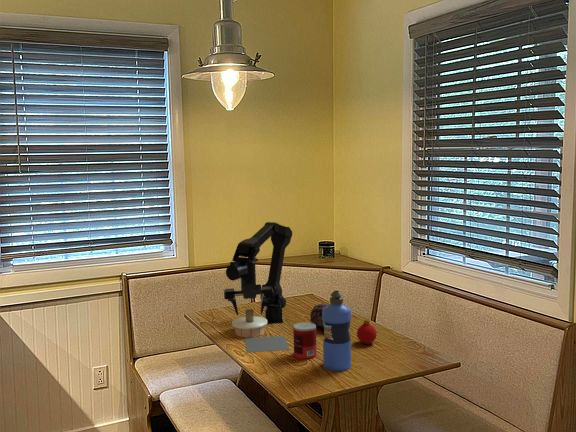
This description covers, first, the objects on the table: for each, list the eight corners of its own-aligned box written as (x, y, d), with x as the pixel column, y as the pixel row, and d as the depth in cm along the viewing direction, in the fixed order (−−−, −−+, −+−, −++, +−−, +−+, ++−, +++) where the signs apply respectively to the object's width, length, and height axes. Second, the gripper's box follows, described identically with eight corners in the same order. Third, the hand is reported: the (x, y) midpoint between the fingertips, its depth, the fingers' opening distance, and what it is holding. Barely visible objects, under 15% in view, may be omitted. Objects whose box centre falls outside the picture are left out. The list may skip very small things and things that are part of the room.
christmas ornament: (371, 338, 218) (371, 312, 217) (380, 345, 212) (380, 318, 210) (353, 341, 216) (353, 314, 215) (362, 347, 210) (361, 320, 208)
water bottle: (331, 373, 187) (330, 296, 184) (318, 363, 196) (316, 289, 192) (356, 368, 191) (356, 292, 188) (343, 358, 199) (342, 286, 196)
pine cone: (344, 334, 224) (344, 308, 223) (320, 337, 221) (320, 311, 220) (327, 320, 241) (327, 297, 240) (304, 323, 238) (304, 299, 237)
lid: (265, 317, 235) (265, 304, 234) (269, 327, 221) (268, 314, 220) (231, 319, 233) (230, 306, 232) (232, 330, 219) (232, 316, 219)
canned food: (319, 353, 205) (318, 323, 203) (312, 362, 197) (312, 330, 196) (298, 351, 207) (297, 321, 206) (290, 359, 200) (290, 328, 198)
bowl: (263, 327, 234) (262, 318, 233) (265, 337, 222) (265, 327, 222) (234, 329, 232) (234, 319, 232) (236, 339, 221) (235, 329, 220)
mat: (284, 336, 223) (284, 335, 223) (289, 350, 208) (289, 349, 208) (244, 339, 221) (244, 338, 221) (247, 353, 206) (247, 352, 206)
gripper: (223, 281, 215) (225, 322, 217) (274, 278, 218) (276, 319, 220) (223, 274, 226) (224, 313, 228) (271, 271, 229) (272, 310, 231)
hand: (249, 314), depth 226 cm, fingers open, 9 cm apart
